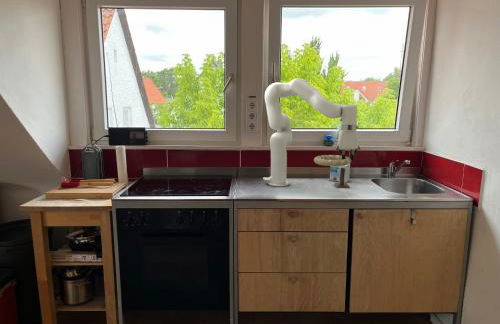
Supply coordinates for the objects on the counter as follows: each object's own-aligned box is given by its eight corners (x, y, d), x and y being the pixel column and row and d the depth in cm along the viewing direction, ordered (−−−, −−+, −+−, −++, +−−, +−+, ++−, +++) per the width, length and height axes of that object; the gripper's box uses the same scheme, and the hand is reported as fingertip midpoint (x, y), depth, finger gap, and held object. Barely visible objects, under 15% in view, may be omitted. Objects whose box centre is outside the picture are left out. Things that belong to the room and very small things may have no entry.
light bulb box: (329, 180, 219) (330, 163, 217) (333, 178, 224) (334, 162, 223) (345, 182, 213) (346, 165, 211) (349, 180, 218) (350, 163, 217)
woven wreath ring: (317, 166, 177) (317, 160, 177) (311, 160, 197) (311, 154, 196) (355, 166, 177) (355, 160, 177) (345, 160, 197) (345, 154, 196)
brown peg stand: (337, 187, 200) (338, 168, 198) (334, 185, 207) (335, 166, 205) (349, 187, 200) (350, 168, 198) (346, 185, 207) (347, 166, 205)
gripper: (362, 127, 187) (360, 160, 190) (331, 127, 188) (330, 160, 191) (366, 128, 180) (364, 163, 183) (334, 128, 180) (333, 163, 183)
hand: (347, 161), depth 187 cm, fingers closed on woven wreath ring, 3 cm apart
